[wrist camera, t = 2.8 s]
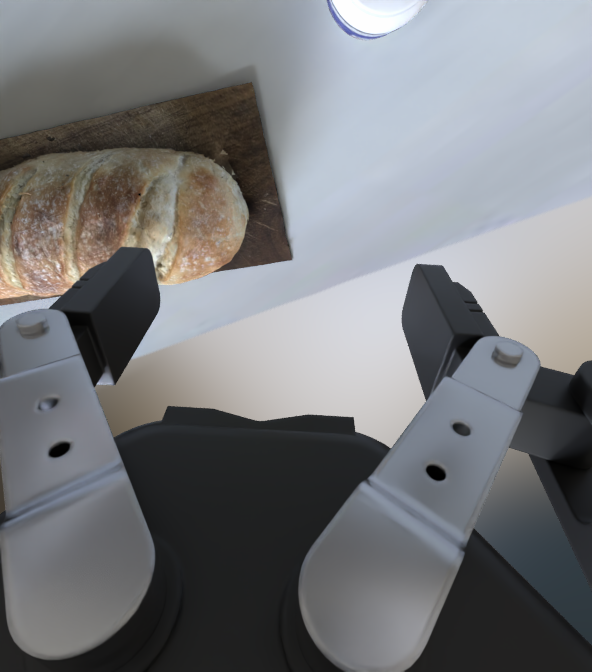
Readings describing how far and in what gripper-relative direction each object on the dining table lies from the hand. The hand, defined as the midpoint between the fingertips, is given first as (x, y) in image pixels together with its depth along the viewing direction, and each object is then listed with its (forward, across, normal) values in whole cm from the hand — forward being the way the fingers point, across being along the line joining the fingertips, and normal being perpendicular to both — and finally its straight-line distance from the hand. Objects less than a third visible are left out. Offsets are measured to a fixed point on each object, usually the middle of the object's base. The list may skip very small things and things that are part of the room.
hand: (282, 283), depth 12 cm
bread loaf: (+22, -18, -7) cm, 29 cm away
